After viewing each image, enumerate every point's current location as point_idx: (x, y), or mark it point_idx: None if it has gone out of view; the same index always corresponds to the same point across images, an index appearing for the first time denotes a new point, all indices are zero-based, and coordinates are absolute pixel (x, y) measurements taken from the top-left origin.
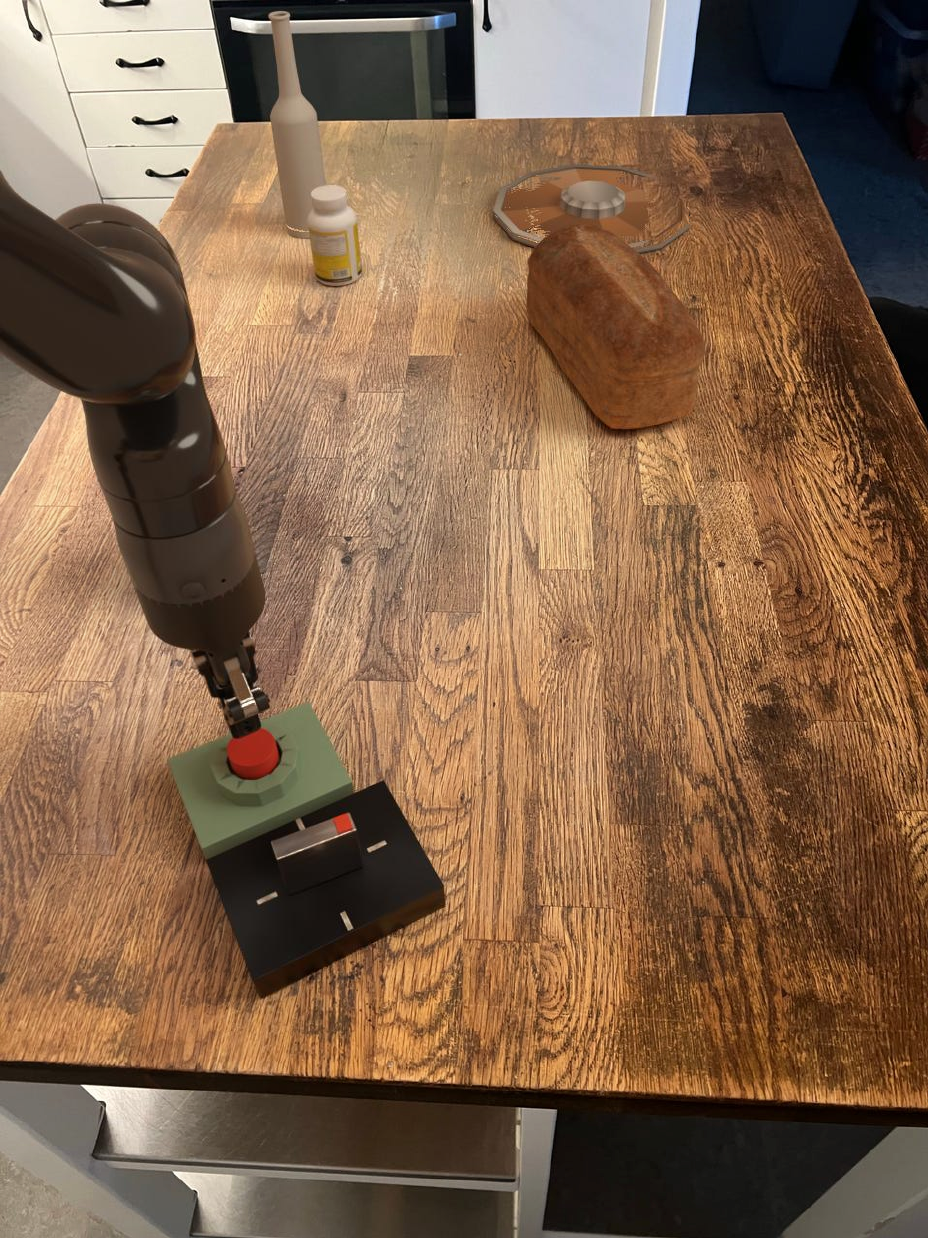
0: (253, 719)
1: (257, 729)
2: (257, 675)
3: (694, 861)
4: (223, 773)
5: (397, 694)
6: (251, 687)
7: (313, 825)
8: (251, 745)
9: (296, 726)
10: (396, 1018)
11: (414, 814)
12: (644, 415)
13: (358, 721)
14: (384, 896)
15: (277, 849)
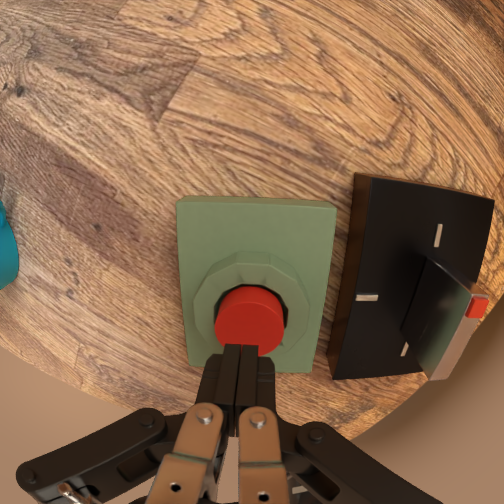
0: (274, 385)
1: (272, 362)
2: (286, 477)
3: (499, 22)
4: None
5: (207, 81)
6: (280, 456)
7: (372, 284)
8: (247, 330)
9: (210, 234)
10: (493, 272)
11: (385, 155)
12: None
13: (222, 144)
14: (472, 255)
15: (440, 377)
